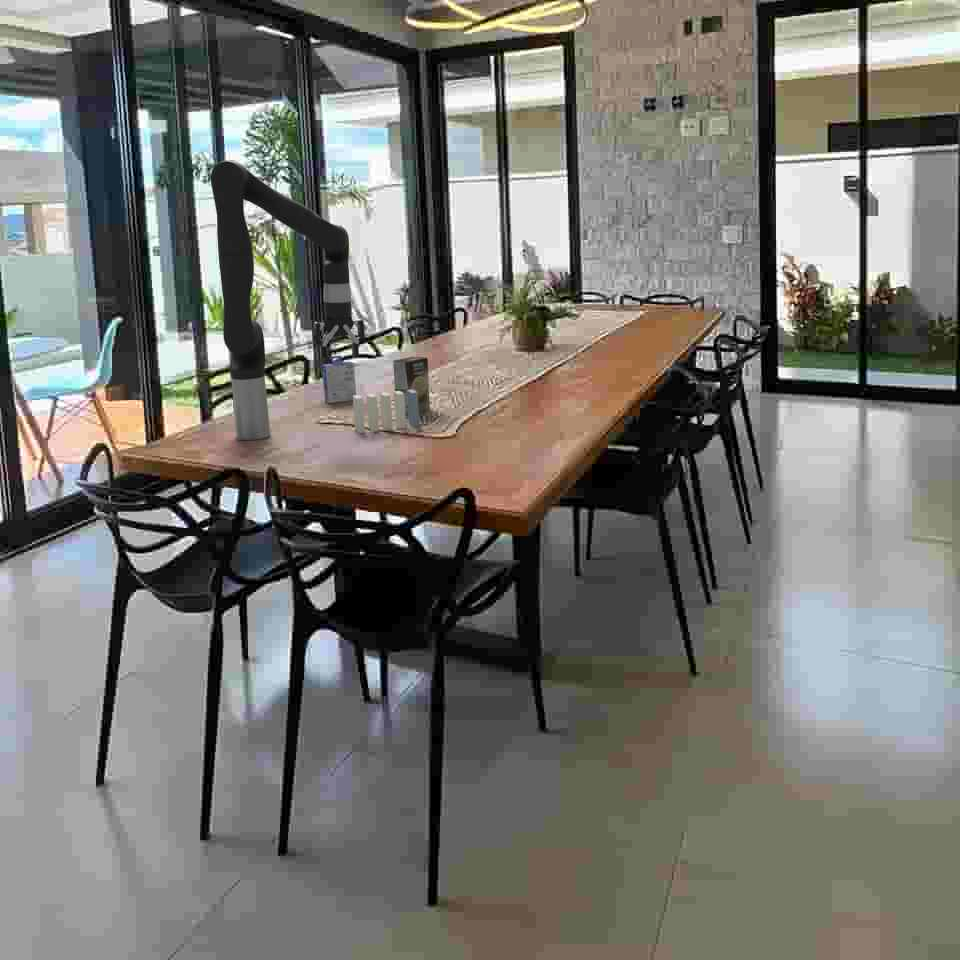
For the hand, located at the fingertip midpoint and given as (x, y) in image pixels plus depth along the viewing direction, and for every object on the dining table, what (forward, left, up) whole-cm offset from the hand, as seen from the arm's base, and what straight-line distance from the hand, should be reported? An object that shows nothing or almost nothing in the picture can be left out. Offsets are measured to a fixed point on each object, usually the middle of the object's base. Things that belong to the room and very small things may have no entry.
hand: (340, 358), depth 306 cm
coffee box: (+25, +20, -22) cm, 39 cm away
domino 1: (+4, 0, -21) cm, 22 cm away
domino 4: (+16, 0, -21) cm, 27 cm away
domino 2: (+8, 0, -21) cm, 23 cm away
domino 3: (+12, 0, -21) cm, 24 cm away
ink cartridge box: (+8, +48, -22) cm, 53 cm away
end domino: (+20, 0, -21) cm, 29 cm away
